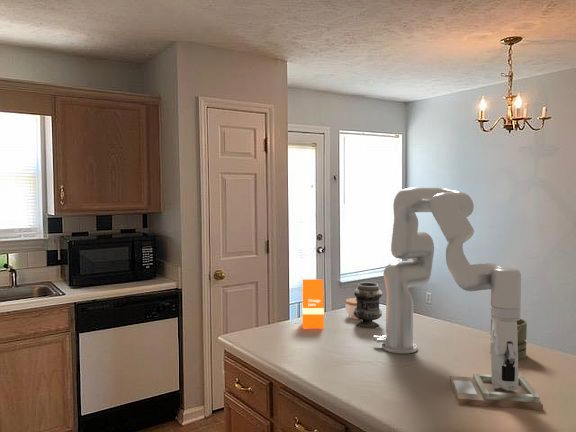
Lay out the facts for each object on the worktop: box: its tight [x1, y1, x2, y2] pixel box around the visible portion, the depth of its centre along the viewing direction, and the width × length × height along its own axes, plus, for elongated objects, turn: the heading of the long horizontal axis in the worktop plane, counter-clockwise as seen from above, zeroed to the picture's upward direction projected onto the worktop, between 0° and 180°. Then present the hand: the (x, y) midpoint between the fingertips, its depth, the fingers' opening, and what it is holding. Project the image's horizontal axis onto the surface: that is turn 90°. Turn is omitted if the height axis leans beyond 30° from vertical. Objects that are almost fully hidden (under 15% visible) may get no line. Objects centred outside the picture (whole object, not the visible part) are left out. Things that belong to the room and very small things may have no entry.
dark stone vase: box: [353, 281, 383, 330], centre depth 203 cm, size 12×12×18 cm
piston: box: [490, 317, 528, 361], centre depth 167 cm, size 11×12×11 cm
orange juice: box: [301, 278, 325, 329], centre depth 204 cm, size 8×9×20 cm
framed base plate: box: [449, 373, 544, 411], centre depth 134 cm, size 21×16×3 cm
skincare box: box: [490, 341, 519, 391], centre depth 133 cm, size 6×4×12 cm
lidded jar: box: [344, 296, 360, 320], centre depth 217 cm, size 11×11×9 cm
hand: (504, 374), depth 134 cm, fingers closed on skincare box, 7 cm apart
